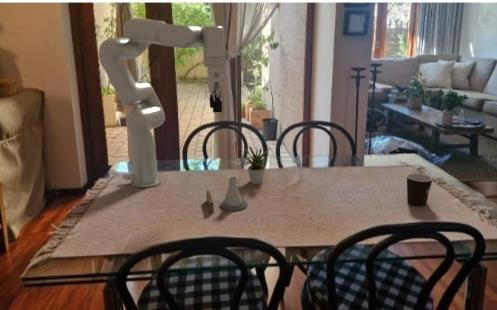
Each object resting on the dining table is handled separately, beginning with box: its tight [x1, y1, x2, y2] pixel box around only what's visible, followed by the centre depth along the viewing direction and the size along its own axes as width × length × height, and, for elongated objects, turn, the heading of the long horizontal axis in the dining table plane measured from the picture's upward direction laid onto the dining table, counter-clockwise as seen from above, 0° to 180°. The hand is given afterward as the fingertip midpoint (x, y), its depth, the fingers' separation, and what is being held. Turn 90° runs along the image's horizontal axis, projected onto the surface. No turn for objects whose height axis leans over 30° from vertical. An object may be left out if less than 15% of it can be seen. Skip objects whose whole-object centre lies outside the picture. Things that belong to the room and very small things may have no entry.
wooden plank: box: [206, 189, 215, 214], centre depth 153 cm, size 1×12×4 cm, turn 11°
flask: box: [223, 176, 243, 207], centre depth 153 cm, size 7×7×10 cm
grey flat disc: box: [219, 199, 248, 212], centre depth 154 cm, size 10×10×1 cm
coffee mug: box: [406, 172, 433, 208], centre depth 154 cm, size 12×9×10 cm
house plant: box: [242, 144, 272, 185], centre depth 176 cm, size 14×14×16 cm
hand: (215, 109), depth 156 cm, fingers open, 9 cm apart
